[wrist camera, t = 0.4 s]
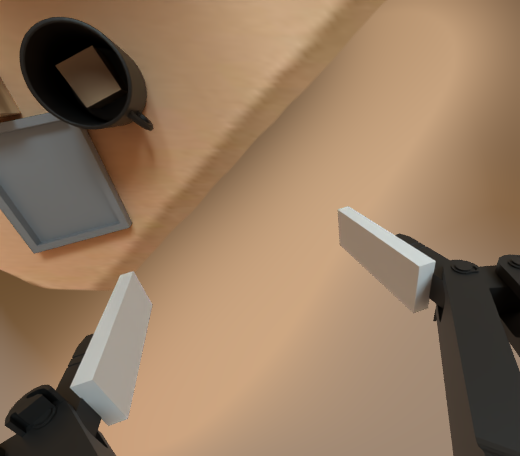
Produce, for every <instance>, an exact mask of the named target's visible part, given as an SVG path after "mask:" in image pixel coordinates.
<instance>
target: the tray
mask: <svg viewBox="0 0 520 456" xmlns="http://www.w3.org/2000/svg"><path fill="white" fill-rule="evenodd" d="M0 209H1V210H2V212H3V213H4V214H5V216H6V217H7V218H8V220H9V221H10V222H11V224H12V225H13V226H14V228H15V229H16V230H17V232H18V233H19V234H20V236H21V237H22V238H23V240H24V241H25V242H26V244H27V245H28V246H29V248H30V249H31V250H32V252H33V253H38V252H42V251H45V250H49V249H53V248H56V247H60V246H64V245H67V244H71V243H75V242H78V241H82V240H86V239H89V238H93V237H97V236H100V235H104V234H108V233H111V232H115V231H119V230H122V229H126V228H130V226H131V224H132V221H131V219H130V217H129V215H128V213H127V211H126V209H125V207H124V205H123V203H122V201H121V199H120V197H119V195H118V193H117V191H116V189H115V187H114V185H113V183H112V181H111V179H110V177H109V175H108V173H107V171H106V169H105V167H104V165H103V162H102V160H101V158H100V156H99V154H98V152H97V150H96V148H95V146H94V144H93V142H92V140H91V138H90V136H89V134H88V132H87V130H86V129H83V128H79V127H75V126H72V125H69V124H67V123H65V122H63V121H61V120H59V119H58V118H56V117H55V116H53V115H52V114H51V113H45V114H40V115H36V116H31V117H26V118H21V119H17V120H12V121H7V122H2V123H0Z"/></svg>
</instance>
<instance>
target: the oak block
mask: <svg viewBox="0 0 520 456" xmlns="http://www.w3.org/2000/svg"><path fill="white" fill-rule="evenodd" d="M19 113H21V112H20V110H19V108H18V107H17V105H16V103H15V101H14V100H13V98H12V96H11V95H10V93H9V91H8V90H7V88H6V86H5V84H4V83H3V81H2V79H1V78H0V117H5V116H9V115H14V114H19Z"/></svg>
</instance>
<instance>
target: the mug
mask: <svg viewBox="0 0 520 456" xmlns="http://www.w3.org/2000/svg"><path fill="white" fill-rule="evenodd" d="M90 46H94V47H95V48H97V49H98V50H100V51H101V52H103V53H104V54H106V55H107V57H108V59H109V60H110V62H111V63H112V65H113V66H114V68H115V69H116V71H117V72H118V74H119V76H120V77H121V79H122V80H123V82H124V83H125V85H126V86H127V88H128V94H126V95H125V96H123V97H121V98H119V99H117V100H115V101H113V102H112V103H110V104H108V105H106V106H104V107H102V108H101V109H97V108H87V107H86V106H85V105H84V103H83V102H82V101H81V99H80V98H79V97H78V95H77V94H76V93H75V91H74V90H73V89H72V87H71V86H70V85H69V83H68V82H67V81H66V79H65V78H64V77H63V75H62V74H61V73H60V71H59V70H58V69H57V67H56V66H55V65H57V64H59V63H61V62H63V61H65V60H66V59H68V58H70V57H72V56H74V55H76V54H77V53H79V52H81V51H83V50H85V49H87V48H89V47H90ZM20 66H21V71H22V74H23V77H24V80H25V82H26V84H27V86H28V88H29V90H30V91H31V93H32V94H33V96H34V97H35V98H36V100H37V101H38V102H39V103H40V104H41V105H42V106H43V107H44V108H45V109H46V110H47V111H48V112H49V113H51V114H52V115H53V116H55V117H56V118H58V119H59V120H61V121H63V122H65V123H67V124H69V125H72V126H75V127H79V128H83V129H103V128H109V127H115V126H122V125H126V124H128V123H131V122H133V121H134V122H135V123H136V124H138V125H139V126H141V127H142V128H144V129H146V130H150V131H152V130H153V129H154V128H153V124H152V123H151V122H150V121H149V120H148V119H147V118H146V117H145V116H144V115H143V114H142V111H143V109H144V107H145V104H146V98H147V91H146V84H145V81H144V78H143V75H142V73H141V71H140V70H139V68H138V66H137V65H136V64H135V62H134V61H133V60H132V59H131V58H130V57H129V56H128V55H127V54H126V53H125V52H124V51H122V50H121V49H120V48H119V47H118V46H117V45H116V44H114V43H113V42H112V41H111V40H110V39H109V38H107V37H106V36H105V35H104V34H103V33H101V32H100V31H99V30H97V29H95V28H94V27H92V26H91V25H89V24H86V23H84V22H82V21H79V20H76V19H72V18H66V17H52V18H48V19H45V20H42V21H40V22H38V23H36V24H35V25H34V26H32V27H31V28H30V29H29V31H28V32H27V33H26V34H25V36H24V38H23V41H22V44H21V48H20Z"/></svg>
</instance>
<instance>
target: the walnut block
mask: <svg viewBox="0 0 520 456" xmlns="http://www.w3.org/2000/svg"><path fill="white" fill-rule="evenodd" d="M55 66H56V67H57V69H58V70H59V71H60V73H61V74H62V75H63V77H64V78H65V79H66V81H67V82H68V83H69V85H70V86H71V87H72V89H73V90H74V91H75V93H76V94H77V95H78V97H79V98H80V99H81V101H82V102H83V103H84V105H85V106H86V107H87V108H97V109H101V108H102V107H104V106H106V105H108V104H110V103H112V102H113V101H115V100H117V99H119V98H121V97H123V96H125V95H126V94H128V88H127V86H126V85H125V83H124V82H123V80H122V79H121V77H120V76H119V74H118V72H117V71H116V69H115V68H114V66H113V65H112V63H111V62H110V60H109V59H108V57H107V55H106V54H104V53H103V52H101V51H100V50H98V49H97V48H95V47H94V46H90V47H89V48H87V49H85V50H83V51H81V52H79V53H77V54H76V55H74V56H72V57H70V58H68V59H66V60H65V61H63V62H61V63H59V64H57V65H55Z"/></svg>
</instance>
